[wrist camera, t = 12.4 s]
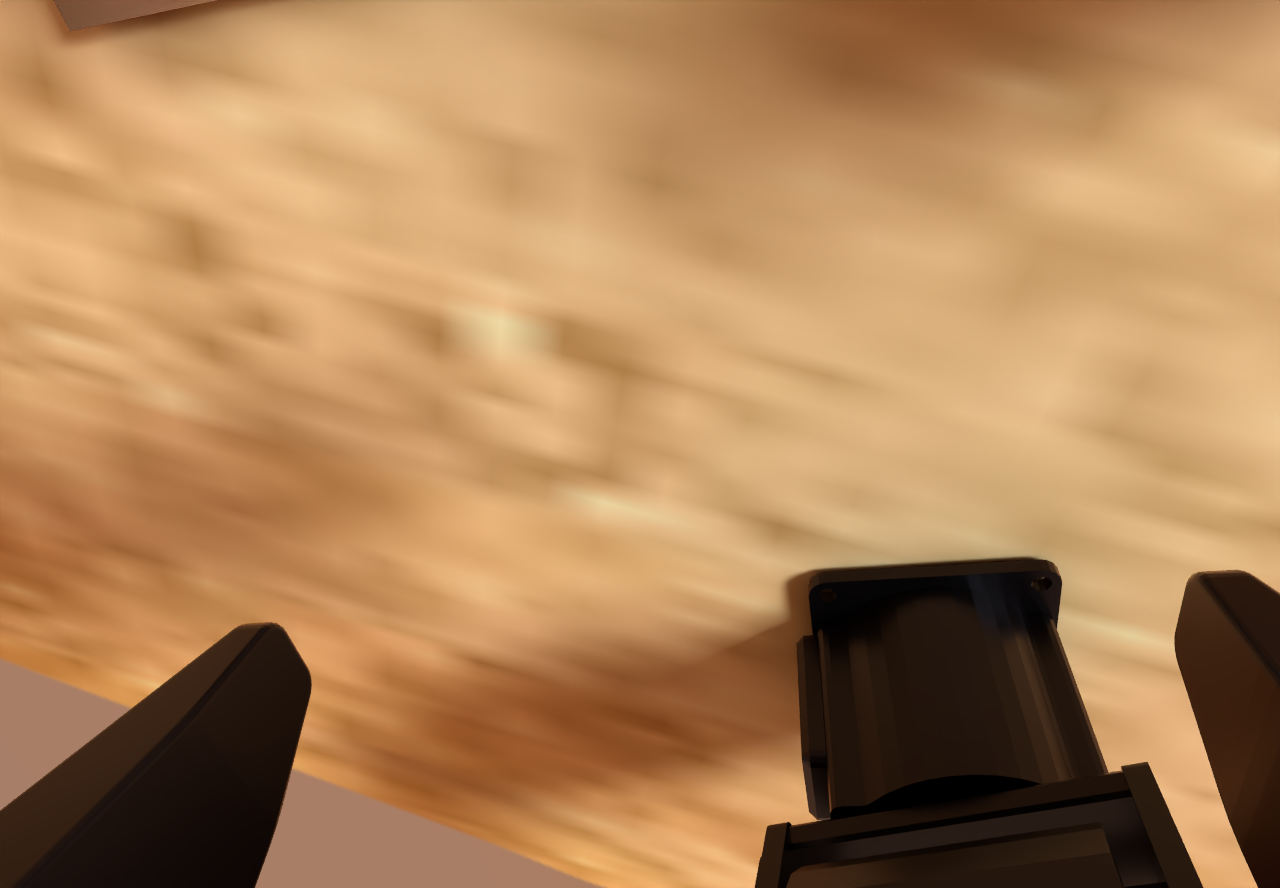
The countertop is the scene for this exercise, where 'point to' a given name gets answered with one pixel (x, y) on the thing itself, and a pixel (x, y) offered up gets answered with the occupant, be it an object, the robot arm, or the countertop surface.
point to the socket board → (113, 10)
